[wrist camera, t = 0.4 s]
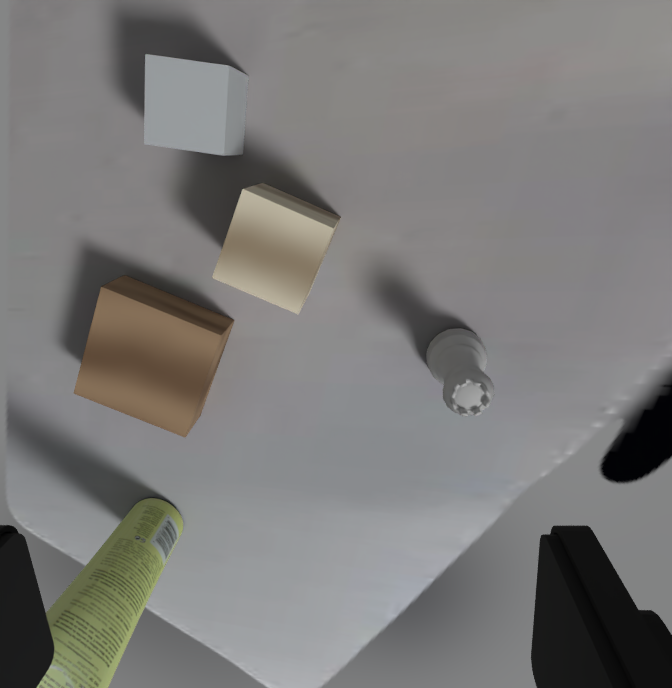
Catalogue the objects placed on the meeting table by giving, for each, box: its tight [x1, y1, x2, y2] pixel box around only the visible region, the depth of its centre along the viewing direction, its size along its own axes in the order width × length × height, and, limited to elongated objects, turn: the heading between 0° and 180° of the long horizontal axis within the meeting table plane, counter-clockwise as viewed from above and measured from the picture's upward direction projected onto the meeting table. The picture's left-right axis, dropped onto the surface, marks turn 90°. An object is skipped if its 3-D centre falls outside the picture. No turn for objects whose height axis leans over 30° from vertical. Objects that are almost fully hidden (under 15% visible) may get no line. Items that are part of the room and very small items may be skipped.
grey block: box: [144, 54, 249, 156], centre depth 35 cm, size 5×5×5 cm
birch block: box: [212, 183, 341, 314], centre depth 37 cm, size 6×6×6 cm
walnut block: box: [74, 275, 234, 437], centre depth 42 cm, size 9×9×4 cm
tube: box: [37, 498, 183, 688], centre depth 40 cm, size 6×5×20 cm
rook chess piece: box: [426, 328, 494, 417], centre depth 38 cm, size 4×4×8 cm
